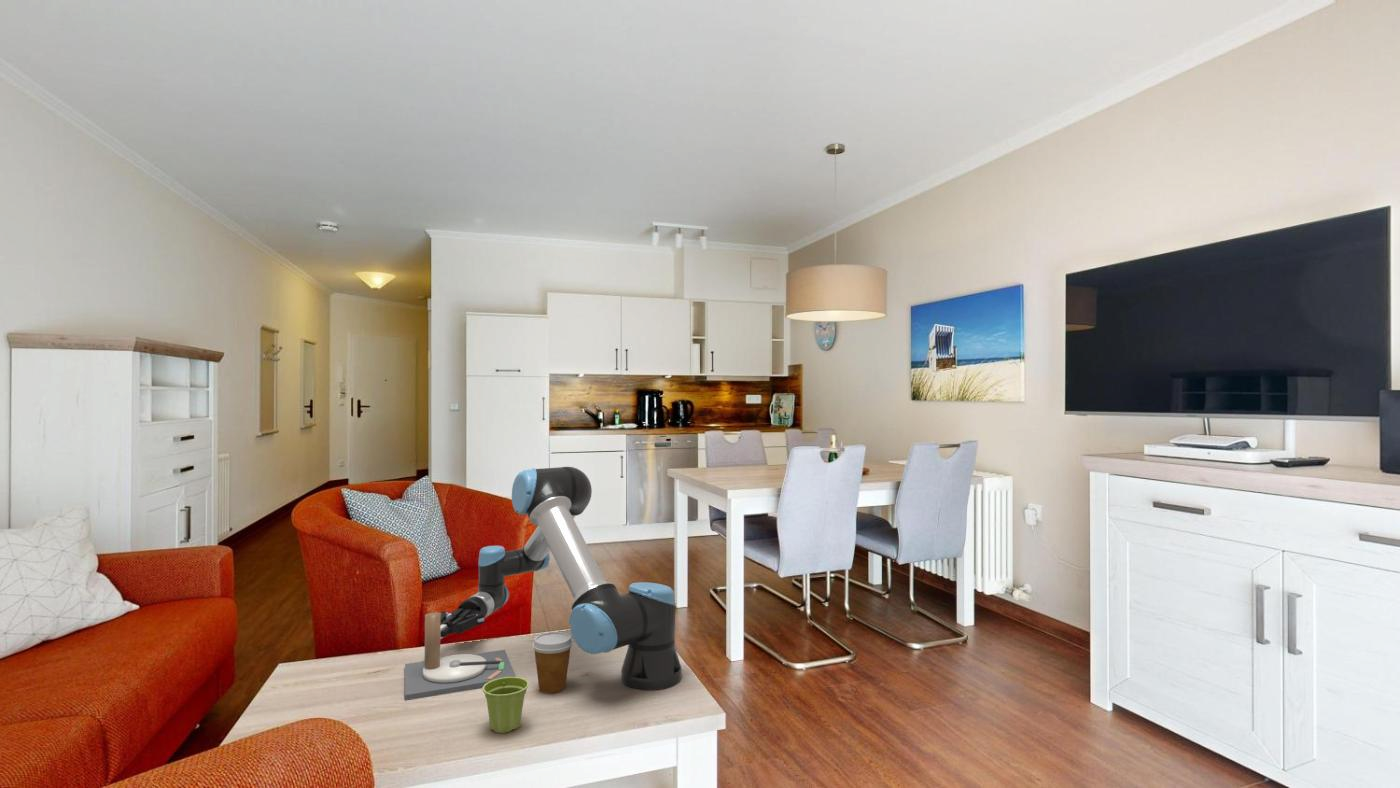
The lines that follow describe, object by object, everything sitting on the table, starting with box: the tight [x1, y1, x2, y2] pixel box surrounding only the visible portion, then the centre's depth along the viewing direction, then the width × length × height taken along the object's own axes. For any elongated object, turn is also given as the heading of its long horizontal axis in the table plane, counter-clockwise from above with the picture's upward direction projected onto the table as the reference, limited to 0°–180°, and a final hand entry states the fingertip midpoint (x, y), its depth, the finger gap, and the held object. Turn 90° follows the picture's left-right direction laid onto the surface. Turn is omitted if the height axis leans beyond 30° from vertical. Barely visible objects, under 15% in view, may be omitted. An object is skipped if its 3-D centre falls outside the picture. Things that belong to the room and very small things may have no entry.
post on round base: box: [423, 611, 500, 683], centre depth 165 cm, size 16×15×14 cm
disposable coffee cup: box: [532, 631, 574, 694], centre depth 158 cm, size 10×10×12 cm
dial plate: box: [404, 649, 517, 701], centre depth 165 cm, size 20×25×2 cm
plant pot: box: [482, 676, 530, 734], centre depth 139 cm, size 9×9×9 cm
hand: (431, 638), depth 166 cm, fingers closed
